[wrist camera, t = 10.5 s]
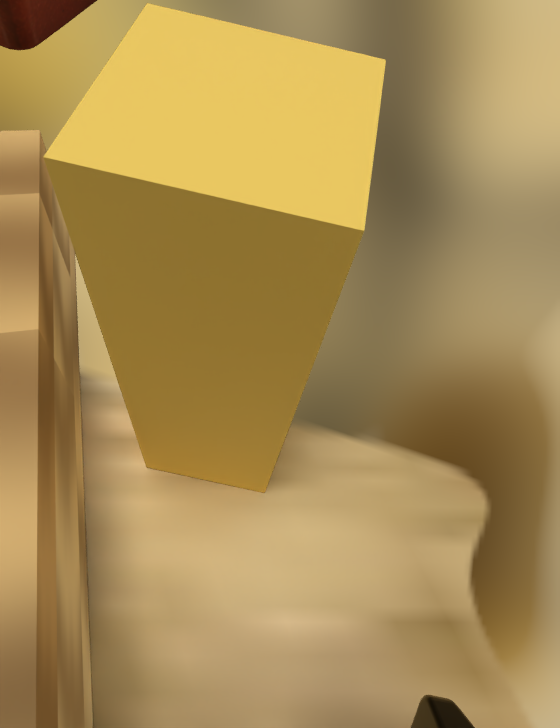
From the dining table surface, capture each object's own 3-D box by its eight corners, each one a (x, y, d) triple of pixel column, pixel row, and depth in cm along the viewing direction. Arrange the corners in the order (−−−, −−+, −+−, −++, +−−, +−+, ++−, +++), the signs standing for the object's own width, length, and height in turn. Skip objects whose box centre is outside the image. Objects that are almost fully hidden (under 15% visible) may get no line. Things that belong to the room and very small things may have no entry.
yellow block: (264, 493, 16) (363, 231, 6) (146, 467, 16) (43, 157, 6) (285, 388, 18) (385, 60, 8) (180, 365, 18) (147, 3, 8)
